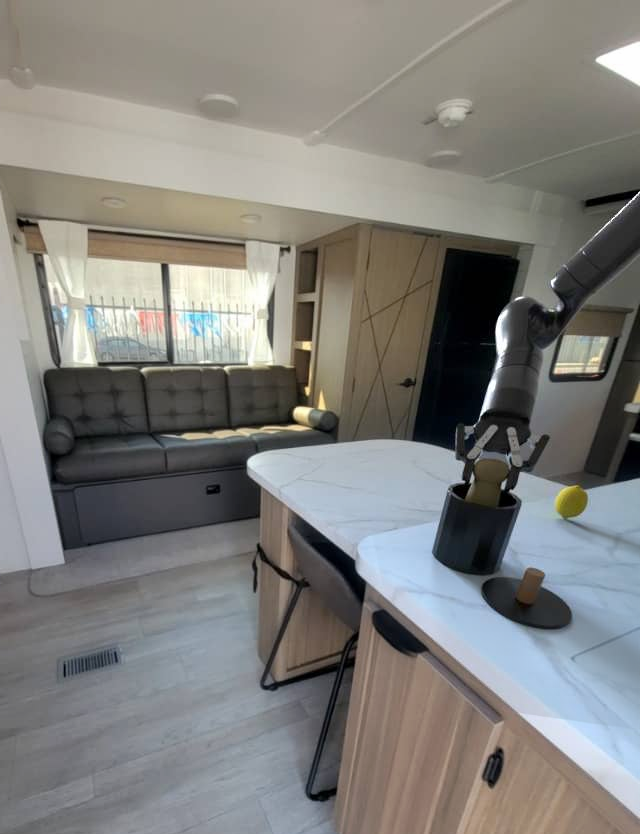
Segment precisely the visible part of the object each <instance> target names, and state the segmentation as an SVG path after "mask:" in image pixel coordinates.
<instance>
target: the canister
mask: <svg viewBox="0 0 640 834" xmlns="http://www.w3.org/2000/svg"><path fill="white" fill-rule="evenodd" d="M471 484H472V482H470V483H469V485H466V484H465V482H456V483H454V484H450V485H449V486H448V487H447V491H446V495H445V499H444V501H443V502H444V504H443V507H442V509H441V514H440V518H439V522H438V526H437V531H436V534H435V539H434V543H433V546H432V550H431V553H432V555H433V557H434V559H435V560H437V562H439V563H440V564H441V565H443V566H445V567H447V568H448V569H450V570H453V571H455V572H458V573H462V574H465V575H470V576H479V577H484V576H491V575H494V574H496V573H498V572H499V571H500V569H501V567H502V563H503V560H504V557H505V554H506V551H507V548H508V546H509V542H510V540H511V537H512V534H513V531H514V528H515V525H516V522H517V521H518V516H519V514H520V510H521V508H522V505H523V503H522V501H523V500H522V499H521V498H520V497H518V495H516V494H515V493H512V492H510V491H509V493H507V492H504V488H501V492H500V499H499V506H498V507H490V506H484V505H480V504H475V503H472V502H469V501H466V500H465V498H466V496H467V493H468V491H469V489H470V487H471Z"/></svg>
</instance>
